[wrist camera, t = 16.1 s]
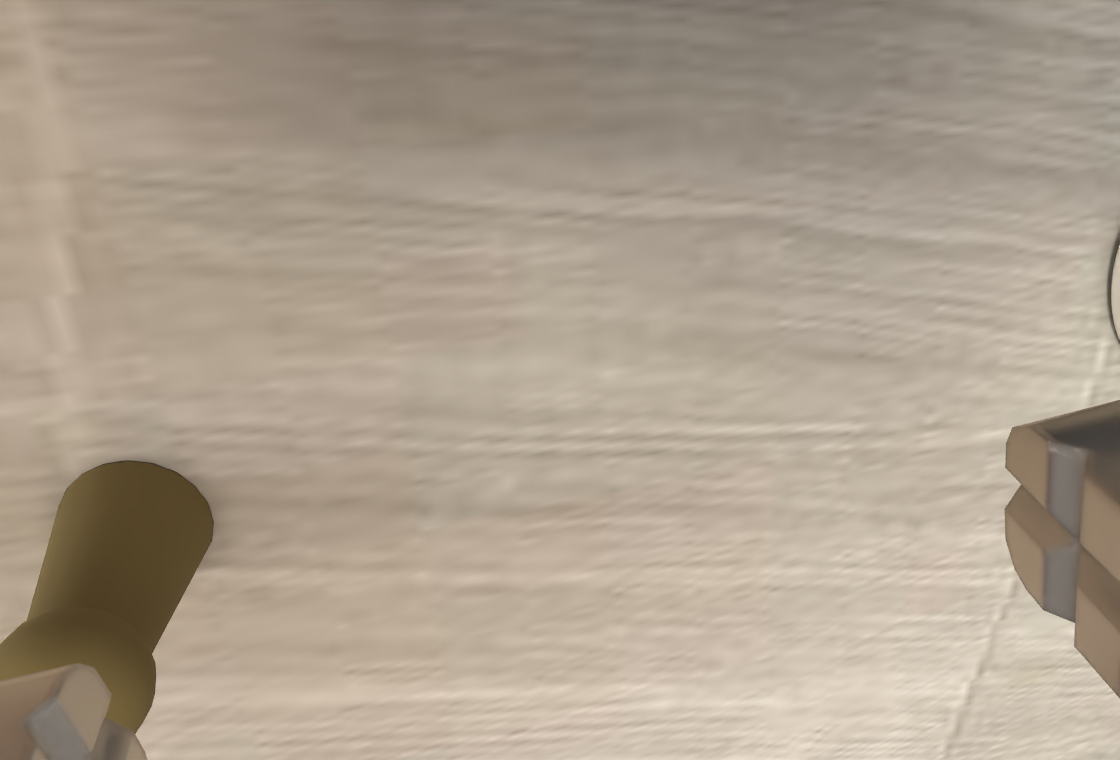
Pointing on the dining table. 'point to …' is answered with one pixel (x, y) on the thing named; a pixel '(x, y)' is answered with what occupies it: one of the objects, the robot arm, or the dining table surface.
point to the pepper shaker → (113, 580)
